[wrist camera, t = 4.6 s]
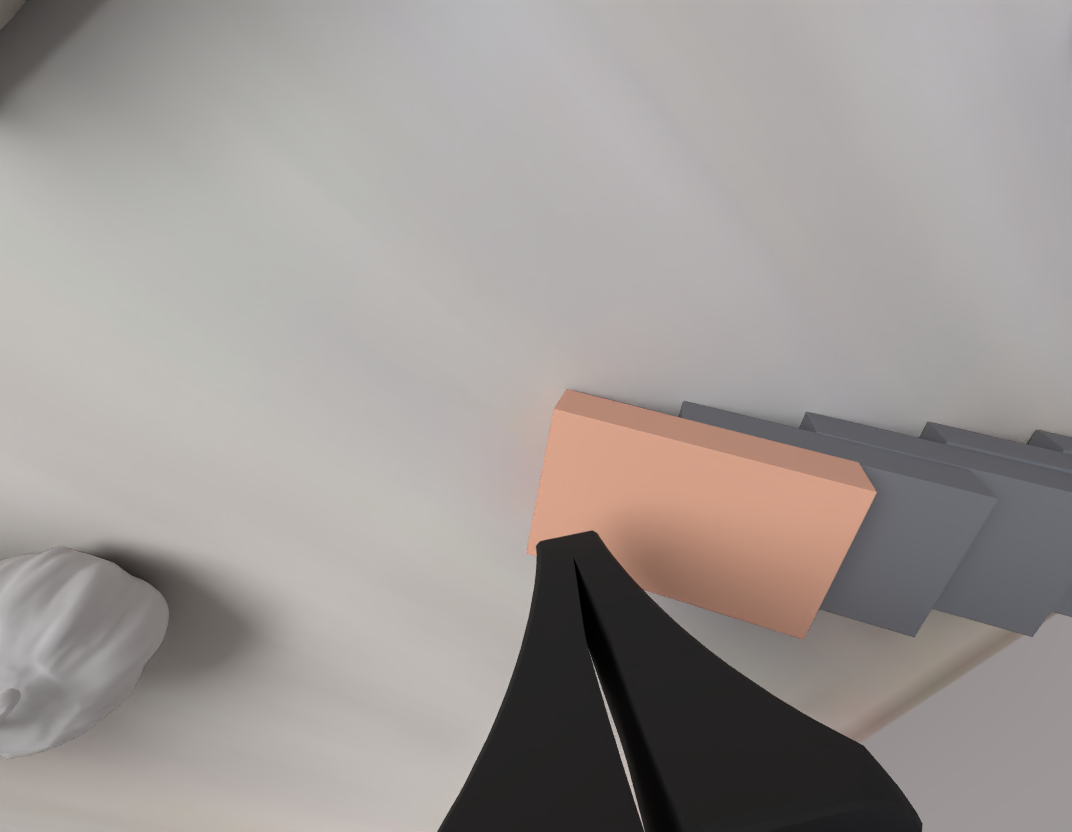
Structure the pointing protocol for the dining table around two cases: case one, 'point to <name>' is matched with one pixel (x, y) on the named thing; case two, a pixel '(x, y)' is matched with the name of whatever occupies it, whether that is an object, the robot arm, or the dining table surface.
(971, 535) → the domino
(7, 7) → the packaged product
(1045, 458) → the domino
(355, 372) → the dining table surface
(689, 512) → the domino
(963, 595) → the domino
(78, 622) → the garlic
